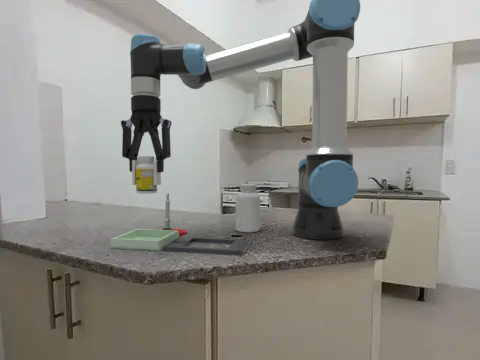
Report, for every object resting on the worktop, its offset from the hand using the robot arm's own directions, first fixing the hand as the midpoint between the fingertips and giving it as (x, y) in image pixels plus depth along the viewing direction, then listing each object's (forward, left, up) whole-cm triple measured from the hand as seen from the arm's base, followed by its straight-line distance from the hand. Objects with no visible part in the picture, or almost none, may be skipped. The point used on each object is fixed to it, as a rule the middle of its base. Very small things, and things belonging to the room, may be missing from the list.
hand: (146, 184), depth 86 cm
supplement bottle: (0, 0, -3) cm, 3 cm away
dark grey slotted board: (-17, 0, -16) cm, 24 cm away
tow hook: (-1, -13, -16) cm, 21 cm away
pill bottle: (-23, -23, -16) cm, 37 cm away
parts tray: (0, 0, -16) cm, 16 cm away
